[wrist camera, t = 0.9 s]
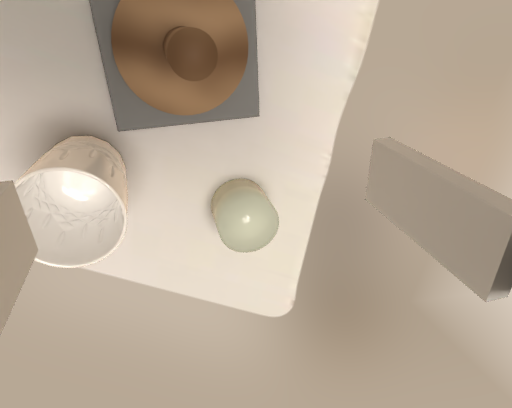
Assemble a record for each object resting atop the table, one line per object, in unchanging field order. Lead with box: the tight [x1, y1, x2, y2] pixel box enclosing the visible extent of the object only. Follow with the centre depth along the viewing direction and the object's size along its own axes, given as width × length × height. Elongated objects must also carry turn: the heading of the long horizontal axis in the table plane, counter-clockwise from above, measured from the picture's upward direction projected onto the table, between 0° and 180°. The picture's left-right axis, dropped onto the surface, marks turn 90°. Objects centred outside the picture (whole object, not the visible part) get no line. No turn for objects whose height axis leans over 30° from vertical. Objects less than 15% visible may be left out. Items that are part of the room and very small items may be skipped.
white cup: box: [14, 136, 128, 268], centre depth 29 cm, size 8×8×10 cm
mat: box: [89, 0, 259, 131], centre depth 31 cm, size 13×13×1 cm
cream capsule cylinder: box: [211, 179, 279, 253], centre depth 37 cm, size 6×6×5 cm
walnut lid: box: [111, 0, 248, 115], centre depth 27 cm, size 11×11×8 cm
